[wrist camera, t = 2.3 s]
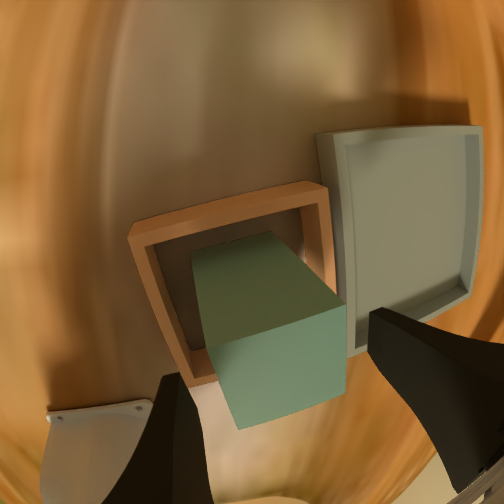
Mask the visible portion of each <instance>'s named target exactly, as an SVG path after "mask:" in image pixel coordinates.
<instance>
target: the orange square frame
mask: <svg viewBox="0 0 504 504" xmlns="http://www.w3.org/2000/svg"><path fill="white" fill-rule="evenodd" d="M297 207H300V215H301V222H302V230H303V237H304V246H305V254H306V262H307V266H308V267H309V268H310V269H311V270H312V271H313V272H314V273H315V274H316V275H317V276H318V277H319V278H320V279H321V280H322V281H323V282H324V283H325V284H326V285H327V286H328V287H329V288H330V289H331V290H332V291H333V292H334V293H335V294H336V295H337V293H336V275H335V260H334V246H333V234H332V223H331V213H330V203H329V194H328V187H325V186H322V185H319V184H316V183H313V182H310V181H307V180H304V181H299V182H295V183H290V184H285V185H280V186H276V187H271V188H267V189H262V190H258V191H253V192H249V193H245V194H241V195H236V196H232V197H228V198H224V199H220V200H216V201H212V202H208V203H204V204H200V205H196V206H192V207H188V208H184V209H181V210H177V211H173V212H169V213H166V214H162V215H159V216H155V217H151V218H148V219H144V220H141V221H137V222H134V224H133V226H132V228H131V230H130V232H129V234H128V236H127V239H128V242H129V245H130V248H131V251H132V254H133V257H134V260H135V263H136V266H137V269H138V272H139V274H140V277H141V280H142V283H143V285H144V288H145V291H146V293H147V296H148V299H149V301H150V304H151V306H152V309H153V311H154V314H155V316H156V319H157V321H158V324H159V326H160V329H161V331H162V333H163V336H164V338H165V340H166V343H167V345H168V347H169V349H170V352H171V354H172V356H173V358H174V361H175V363H176V365H177V367H178V369H179V371H180V374H181V376H182V378H183V380H184V382H185V384H186V386H187V388H190V387H195V386H199V385H203V384H207V383H211V382H215V381H218V378H217V376H216V373H215V371H214V368H213V365H212V363H211V360H210V357H209V354H208V352H207V349H206V348H203V349H199V350H195V351H190V349H189V346H188V344H187V341H186V339H185V336H184V334H183V331H182V328H181V326H180V323H179V320H178V318H177V315H176V312H175V310H174V307H173V304H172V301H171V298H170V296H169V293H168V290H167V287H166V284H165V281H164V278H163V275H162V272H161V269H160V266H159V263H158V260H157V257H156V254H155V250H154V247H153V244H156V243H159V242H163V241H167V240H170V239H174V238H178V237H182V236H185V235H189V234H193V233H197V232H200V231H204V230H208V229H212V228H216V227H220V226H223V225H227V224H231V223H235V222H239V221H243V220H247V219H251V218H255V217H259V216H263V215H267V214H271V213H276V212H280V211H284V210H288V209H292V208H297Z"/></svg>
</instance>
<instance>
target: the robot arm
mask: <svg viewBox="0 0 504 504" xmlns="http://www.w3.org/2000/svg"><path fill="white" fill-rule="evenodd" d="M367 352H368V354H369V355H370V357H371V358H372V360H373V362H374V363H375V365H376V366H377V368H378V369H379V371H380V372H381V373H382V375H383V376H384V377H385V378H386V379H387V381H388V382H389V383H390V384H391V385H392V387H393V388H394V389H395V390H396V391H397V392H398V394H399V395H400V396H401V397H402V398H403V399H404V401H405V402H406V403H407V404H408V405H409V407H410V408H411V409H412V411H413V412H414V413H415V415H416V416H417V418H418V419H419V421H420V422H421V424H422V425H423V427H424V429H425V430H426V432H427V434H428V435H429V437H430V439H431V441H432V442H433V444H434V446H435V448H436V450H437V452H438V453H439V456H440V458H441V460H442V462H443V464H444V466H445V469H446V471H447V473H448V476H449V478H450V481H451V484H452V486H453V488H454V490H456V492H457V493H458V494H459V493H460V494H459V495H458V496H457V497H455V498H454V499H452V500H451V501H450V502H448V503H447V504H472V503H473V502H474V501H475V500H476V499H477V498H479V497H480V496H481V495H482V494H483V493H485V494H484V500H483V501H482V502H481V503H480V504H504V344H501V343H493V342H486V341H481V340H476V339H472V338H467V337H463V336H460V335H456V334H453V333H450V332H447V331H444V330H441V329H438V328H435V327H432V326H430V325H427V324H425V323H422V322H420V321H417V320H415V319H412V318H410V317H407V316H405V315H402V314H400V313H398V312H395V311H393V310H390V309H387V308H384V307H380V308H378V309H375V310H373V311H370V312H369V327H368V344H367ZM138 406H141V407H138ZM46 419H47V420H48V421H49V422H50V423H51V426H50V430H49V434H48V438H47V443H46V447H45V452H44V457H43V461H42V467H41V472H40V479H39V485H40V493H41V497H42V500H43V503H44V504H214V502H213V498H212V494H211V490H210V485H209V479H208V472H207V464H206V456H205V448H204V439H203V431H202V427H201V422H200V418H199V414H198V409H197V406H196V404H195V402H194V400H193V398H192V396H191V394H190V392H189V390H188V388H187V386H186V384H185V382H184V380H183V378H182V376H181V374H180V372H177V373H173V374H168V375H164V376H163V377H162V378H161V381H160V385H159V388H158V391H157V394H156V398H155V401H154V403H152V402H151V401H150V400H147V399H142V400H136V401H131V402H125V403H119V404H112V405H106V406H99V407H91V408H83V409H75V410H65V411H54V412H47V413H46ZM486 471H487V472H486ZM485 472H486V473H485ZM484 473H485V474H484ZM481 475H482V476H481ZM480 476H481V477H480ZM479 477H480V478H479ZM478 478H479V479H478ZM477 479H478V480H477ZM474 481H475V482H474ZM473 482H474V483H473ZM472 483H473V484H472ZM471 484H472V485H471ZM469 485H470V486H469ZM468 486H469V487H468ZM467 487H468V488H467ZM466 488H467V489H466ZM464 489H466V490H464ZM463 490H464V491H463ZM462 491H463V492H462ZM461 492H462V493H461Z"/></svg>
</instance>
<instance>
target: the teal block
mask: <svg viewBox="0 0 504 504" xmlns="http://www.w3.org/2000/svg"><path fill="white" fill-rule="evenodd" d="M190 257H191V264H192V270H193V277H194V283H195V289H196V295H197V301H198V307H199V312H200V318H201V323H202V329H203V334H204V339H205V344H206V349H207V352H208V354H209V357H210V360H211V363H212V365H213V368H214V371H215V373H216V376H217V378H218V381H219V384H220V386H221V389H222V391H223V394H224V396H225V399H226V401H227V404H228V406H229V409H230V411H231V414H232V416H233V419H234V421H235V423H236V426H237V428H238V430H240V429H244V428H248V427H251V426H255V425H258V424H261V423H265V422H268V421H271V420H274V419H277V418H280V417H283V416H286V415H289V414H292V413H295V412H298V411H301V410H304V409H306V408H309V407H312V406H314V405H317V404H320V403H322V402H325V401H327V400H330V399H332V398H335V397H337V396H340V395H342V394H344V393H345V385H346V304H345V303H344V302H343V301H342V300H341V299H340V298H339V297H338V296H337V295H336V294H335V293H334V292H333V291H332V290H331V289H330V288H329V287H328V286H327V285H326V284H325V283H324V282H323V281H322V280H321V279H320V278H319V277H318V276H317V275H316V274H315V273H314V272H313V271H312V270H311V269H310V268H309V267H308V266H307V265H306V264H305V263H304V262H303V261H302V260H301V259H300V258H299V257H298V256H297V255H296V254H295V253H294V252H293V251H292V250H291V249H290V248H289V247H288V246H287V245H286V244H285V243H284V242H282V241H281V240H280V239H279V238H278V237H277V236H276V235H275V234H274V233H273V232H272V231H270V232H266V233H262V234H258V235H254V236H250V237H247V238H243V239H239V240H235V241H231V242H228V243H224V244H220V245H216V246H212V247H209V248H205V249H201V250H197V251H194V252H190Z"/></svg>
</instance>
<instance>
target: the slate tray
mask: <svg viewBox="0 0 504 504" xmlns="http://www.w3.org/2000/svg"><path fill="white" fill-rule="evenodd" d="M315 138H316V145H317V152H318V159H319V166H320V173H321V181H322V186H325V187H328V194H329V203H330V213H331V223H332V234H333V246H334V260H335V275H336V293H337V296H338V297H339V298H340V299H341V300H342V301H343V302H344V303H345V304H346V358H347V359H348V358H350V357H353V356H355V355H357V354H360V353H362V352H364V351H367V344H368V327H369V312H370V311H373V310H375V309H378V308H380V307H384V308H387V309H390V310H393V311H395V312H398V313H400V314H402V315H405V316H407V317H410V318H412V319H415V320H417V321H420V322H422V323H425V322H427V321H429V320H430V319H432V318H434V317H436V316H438V315H440V314H441V313H443V312H445V311H447V310H449V309H450V308H452V307H454V306H456V305H457V304H459V303H461V302H462V301H464V300H466V299H467V298H469V297H471V295H472V290H473V285H474V279H475V273H476V267H477V261H478V253H479V246H480V237H481V227H482V214H483V195H484V151H483V133H482V126H477V125H467V124H428V125H404V126H388V127H375V128H363V129H353V130H343V131H335V132H327V133H319V134H315Z"/></svg>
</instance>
